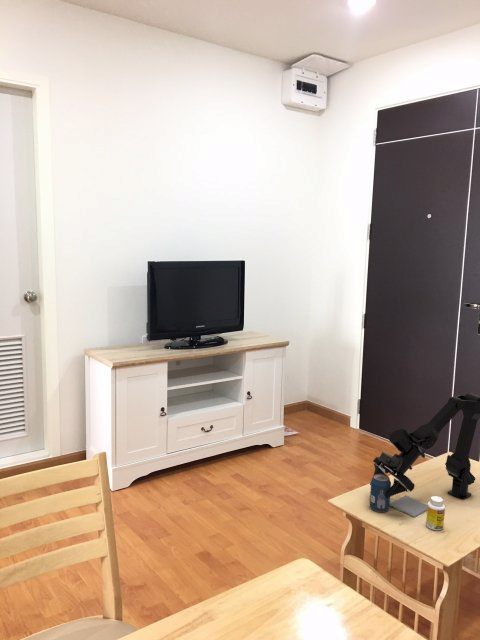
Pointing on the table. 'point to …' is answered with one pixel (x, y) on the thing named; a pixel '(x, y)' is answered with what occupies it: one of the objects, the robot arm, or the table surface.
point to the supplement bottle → (435, 513)
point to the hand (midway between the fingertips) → (377, 491)
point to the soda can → (379, 493)
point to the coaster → (409, 506)
